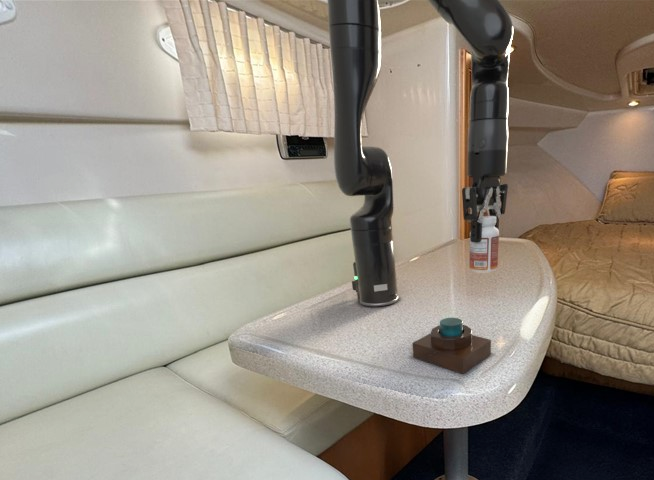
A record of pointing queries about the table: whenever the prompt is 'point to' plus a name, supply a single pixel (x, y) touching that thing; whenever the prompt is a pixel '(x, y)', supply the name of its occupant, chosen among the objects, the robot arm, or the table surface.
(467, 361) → the push button base
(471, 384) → the table surface
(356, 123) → the robot arm
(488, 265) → the pill bottle
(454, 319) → the teal push button
